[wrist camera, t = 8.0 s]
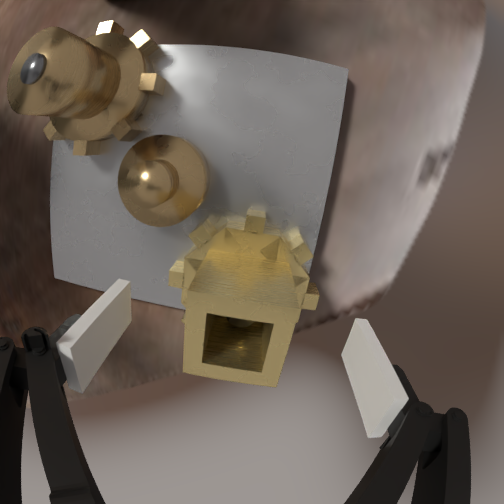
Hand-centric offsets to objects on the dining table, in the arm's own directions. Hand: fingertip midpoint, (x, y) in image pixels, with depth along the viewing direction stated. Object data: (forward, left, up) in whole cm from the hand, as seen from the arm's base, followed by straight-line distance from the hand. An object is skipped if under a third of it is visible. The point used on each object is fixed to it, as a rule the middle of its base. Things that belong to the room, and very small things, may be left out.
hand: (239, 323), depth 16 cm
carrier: (-6, +6, -7) cm, 12 cm away
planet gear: (0, 0, -6) cm, 6 cm away
